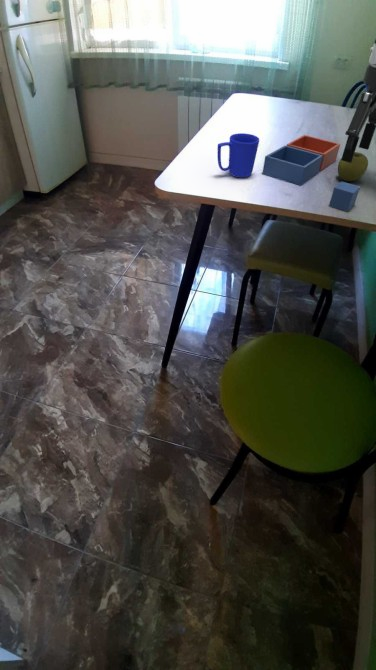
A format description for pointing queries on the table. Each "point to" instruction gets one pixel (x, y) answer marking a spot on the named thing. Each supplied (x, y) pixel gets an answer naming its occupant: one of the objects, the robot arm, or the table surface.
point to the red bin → (318, 148)
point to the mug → (240, 154)
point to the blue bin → (292, 164)
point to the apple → (353, 167)
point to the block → (344, 196)
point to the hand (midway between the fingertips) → (355, 154)
